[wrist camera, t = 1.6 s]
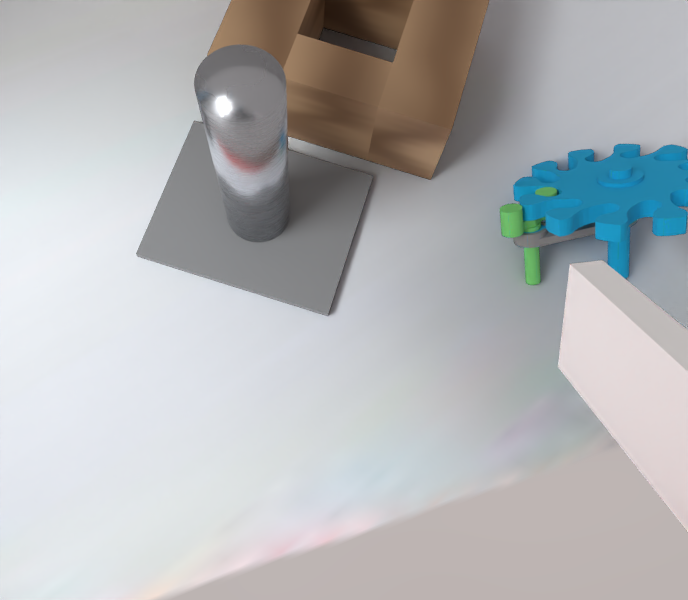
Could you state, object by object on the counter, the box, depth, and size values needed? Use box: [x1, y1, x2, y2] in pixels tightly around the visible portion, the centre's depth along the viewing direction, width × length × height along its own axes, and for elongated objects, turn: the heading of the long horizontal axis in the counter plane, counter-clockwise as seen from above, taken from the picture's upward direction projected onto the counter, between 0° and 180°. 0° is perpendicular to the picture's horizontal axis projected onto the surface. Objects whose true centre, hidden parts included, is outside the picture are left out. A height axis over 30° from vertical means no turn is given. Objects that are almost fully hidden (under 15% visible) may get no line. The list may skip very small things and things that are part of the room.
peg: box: [194, 44, 290, 242], centre depth 28 cm, size 3×3×11 cm
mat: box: [136, 121, 373, 316], centre depth 34 cm, size 10×8×1 cm
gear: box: [500, 144, 688, 285], centre depth 32 cm, size 11×6×10 cm
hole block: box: [207, 0, 489, 180], centre depth 34 cm, size 12×10×5 cm
